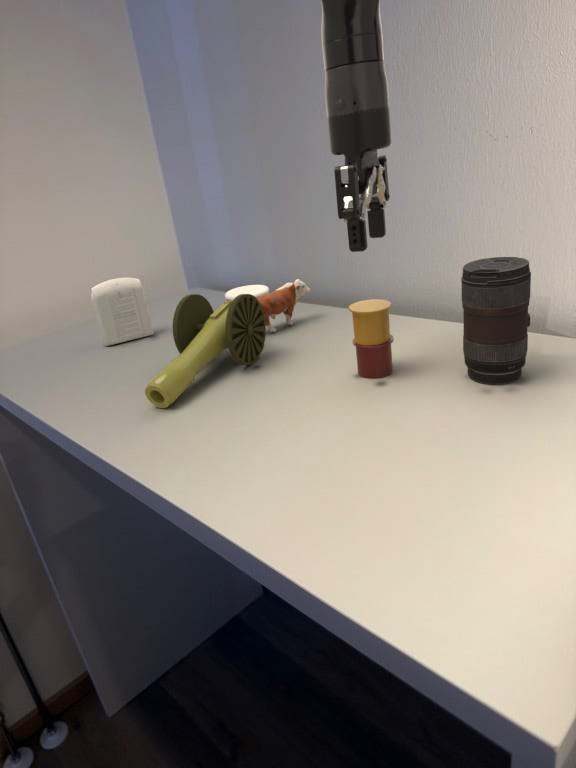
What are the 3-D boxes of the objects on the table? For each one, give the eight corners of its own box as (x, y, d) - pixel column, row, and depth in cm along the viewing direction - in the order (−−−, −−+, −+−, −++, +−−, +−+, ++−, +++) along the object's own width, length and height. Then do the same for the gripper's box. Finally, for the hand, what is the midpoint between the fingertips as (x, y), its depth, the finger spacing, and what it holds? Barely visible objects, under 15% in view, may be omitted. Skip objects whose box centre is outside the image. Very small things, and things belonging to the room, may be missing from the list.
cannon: (192, 414, 74) (174, 336, 69) (126, 407, 79) (105, 333, 74) (275, 347, 93) (266, 283, 89) (218, 345, 99) (206, 284, 94)
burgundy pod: (383, 360, 82) (381, 329, 80) (403, 372, 77) (401, 340, 75) (348, 369, 80) (345, 338, 78) (366, 383, 75) (363, 349, 73)
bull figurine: (316, 318, 105) (312, 277, 102) (258, 338, 99) (251, 295, 96) (303, 315, 109) (298, 275, 106) (246, 334, 103) (239, 292, 99)
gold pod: (380, 329, 80) (378, 296, 78) (400, 340, 75) (399, 305, 73) (345, 338, 78) (341, 305, 76) (363, 349, 73) (360, 314, 71)
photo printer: (152, 330, 114) (137, 272, 109) (156, 335, 110) (142, 275, 105) (102, 343, 110) (85, 283, 105) (105, 348, 106) (88, 287, 101)
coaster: (253, 313, 115) (251, 297, 113) (218, 311, 120) (215, 295, 119) (279, 299, 122) (277, 284, 121) (245, 298, 128) (242, 283, 126)
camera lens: (473, 360, 78) (473, 255, 72) (533, 366, 73) (539, 255, 67) (453, 382, 72) (451, 271, 66) (517, 391, 67) (521, 272, 61)
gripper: (370, 104, 58) (381, 255, 65) (402, 103, 70) (409, 231, 76) (306, 116, 62) (323, 258, 68) (347, 113, 73) (358, 234, 80)
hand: (368, 243), depth 72 cm, fingers open, 8 cm apart
